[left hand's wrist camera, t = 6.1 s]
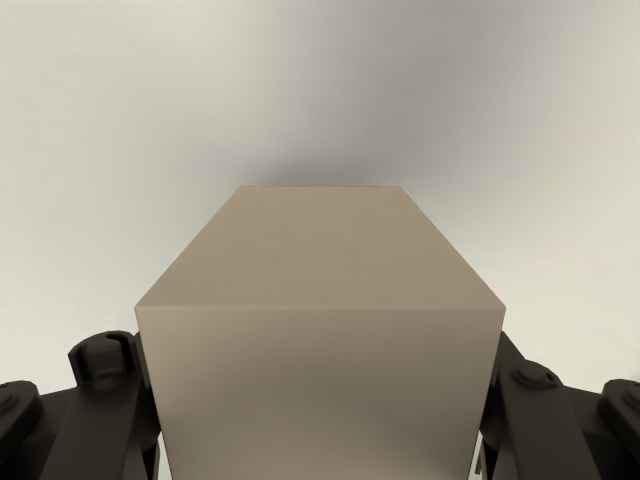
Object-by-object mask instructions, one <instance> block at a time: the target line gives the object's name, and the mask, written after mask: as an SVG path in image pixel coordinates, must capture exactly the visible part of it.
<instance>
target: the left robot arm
mask: <svg viewBox="0 0 640 480" xmlns="http://www.w3.org/2000/svg"><path fill="white" fill-rule="evenodd" d="M68 357H69V361H70V364H71V367H72V370H73V373H74V376H75V379H76V383H77V386H76V387H74V388H71V389H67V390H62V391H58V392H53V393H49V394H44V395H39V392H38V389H37V386H36V385H35V384H33V383H32V382H30V381H21V380H20V381H14V382H8V383H4V384H1V385H0V480H158V471H159V460H160V447H159V442H158V436H159V434H160V432H161V426H160V422H159V417H158V413H157V408H156V404H155V399H154V395H153V390H152V386H151V381H150V377H149V372H148V368H147V363H146V359H145V354H144V350H143V345H142V341H141V336H140V332H137V333H136V334H135V336H133V335H132V334H131V333H129V332H125V331H120V330H119V331H107V332H103V333H99V334H96V335H93V336H91V337H89V338H87V339H85V340H83V341H81V342H80V343H79V344H77V345H76V346H74V347H73V348H72V350H71V351H70V352H69V353H68ZM479 430H480V432H481V434H482V436H483V438H482V442H481V447H480V451H479V455H478V460H477V464H476V469H475V474H478V475H480V471H481V470H482V480H640V383H638V382H635V381H630V380H624V379H615V380H610V381H608V382H607V383H606V384H605V385H604V387H603V390H602V393H601V394H598V393H594V392H589V391H585V390H580V389H576V388H571V387H568V386H564V385H563V384H562V382H561V381H560V379H559V378H558V376H557V375H556V374H554V373H553V372H552V371H551V370H549V369H548V368H546V367H544V366H542V365H540V364H538V363H536V362H533V361H530V360H526V359H525V358H524V357H523V356H522V354H521V353H520V352H519V351H518V349H517V348H516V347H515V345H514V344H513V343H512V342H511V340H510V339H509V338H508V336H507V335H506V334H505V333H504V331H502V329H501V334H500V338H499V343H498V347H497V352H496V356H495V361H494V365H493V370H492V374H491V379H490V383H489V388H488V392H487V397H486V401H485V405H484V410H483V414H482V419H481V423H480V428H479Z"/></svg>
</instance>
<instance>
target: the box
mask: <svg viewBox="0 0 640 480" xmlns="http://www.w3.org/2000/svg"><path fill="white" fill-rule="evenodd" d="M505 311H506V307H505V305H504V304H503V303H502V302H501V301H500V299H499V298H498V297H497V296H496V295H495V294H494V293H493V291H492V290H491V289H490V288H489V287H488V286H487V285H486V284H485V282H484V281H483V280H482V279H481V278H480V277H479V276H478V274H477V273H476V272H475V271H474V270H473V269H472V268H471V266H470V265H469V264H468V263H467V262H466V261H465V260H464V259H463V257H462V256H461V255H460V254H459V253H458V252H457V251H456V249H455V248H454V247H453V246H452V245H451V244H450V243H449V241H448V240H447V239H446V238H445V237H444V236H443V235H442V234H441V232H440V231H439V230H438V229H437V228H436V227H435V226H434V224H433V223H432V222H431V221H430V220H429V219H428V218H427V217H426V215H425V214H424V213H423V212H422V211H421V210H420V209H419V207H418V206H417V205H416V204H415V203H414V202H413V201H412V199H411V198H410V197H409V196H408V195H407V194H406V193H405V192H404V190H403V189H402V188H401V187H399V186H241V187H239V188H238V190H237V191H236V192H235V193H234V194H233V195H232V196H231V198H230V199H229V200H228V201H227V202H226V203H225V204H224V205H223V207H222V208H221V209H220V210H219V211H218V212H217V213H216V215H215V216H214V217H213V218H212V219H211V220H210V221H209V223H208V224H207V225H206V226H205V227H204V228H203V229H202V230H201V232H200V233H199V234H198V235H197V236H196V237H195V238H194V240H193V241H192V242H191V243H190V244H189V245H188V246H187V248H186V249H185V250H184V251H183V252H182V253H181V254H180V255H179V257H178V258H177V259H176V260H175V261H174V262H173V263H172V265H171V266H170V267H169V268H168V269H167V270H166V271H165V273H164V274H163V275H162V276H161V277H160V278H159V279H158V280H157V282H156V283H155V284H154V285H153V286H152V287H151V288H150V290H149V291H148V292H147V293H146V294H145V295H144V296H143V298H142V299H141V300H140V301H139V302H138V303H137V304H136V305H135V314H136V318H137V323H138V327H139V332H140V336H141V341H142V345H143V350H144V354H145V359H146V363H147V368H148V372H149V377H150V381H151V386H152V390H153V395H154V399H155V404H156V408H157V413H158V417H159V422H160V426H161V431H162V435H163V440H164V444H165V449H166V454H167V458H168V463H169V467H170V472H171V476H172V480H468V477H469V473H470V468H471V464H472V459H473V455H474V450H475V446H476V441H477V437H478V432H479V428H480V423H481V419H482V414H483V410H484V405H485V401H486V397H487V392H488V388H489V383H490V379H491V374H492V370H493V365H494V361H495V356H496V352H497V347H498V343H499V338H500V334H501V329H502V325H503V320H504V316H505Z"/></svg>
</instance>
